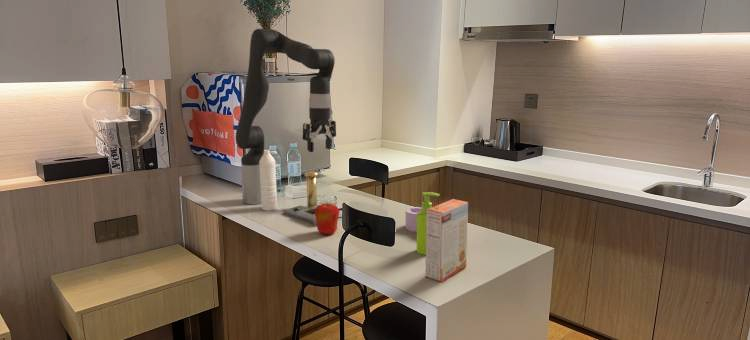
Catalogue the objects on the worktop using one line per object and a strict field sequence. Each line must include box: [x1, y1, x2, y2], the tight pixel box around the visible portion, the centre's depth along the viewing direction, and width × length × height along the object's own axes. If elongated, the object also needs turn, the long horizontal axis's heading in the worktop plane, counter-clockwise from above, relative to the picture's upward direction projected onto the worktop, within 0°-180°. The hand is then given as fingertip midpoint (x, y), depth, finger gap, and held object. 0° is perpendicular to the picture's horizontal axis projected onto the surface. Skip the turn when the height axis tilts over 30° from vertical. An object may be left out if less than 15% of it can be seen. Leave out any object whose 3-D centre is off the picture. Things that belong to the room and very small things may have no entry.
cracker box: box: [425, 198, 469, 283], centre depth 148 cm, size 14×6×21 cm, turn 139°
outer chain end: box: [297, 206, 317, 226], centre depth 197 cm, size 13×9×4 cm
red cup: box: [315, 202, 340, 236], centre depth 182 cm, size 9×8×12 cm
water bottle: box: [259, 149, 278, 211], centre depth 209 cm, size 9×6×25 cm
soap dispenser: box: [416, 191, 440, 256], centre depth 164 cm, size 6×7×20 cm
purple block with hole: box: [404, 206, 421, 232], centre depth 185 cm, size 20×12×7 cm, turn 57°
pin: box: [303, 170, 319, 208], centre depth 211 cm, size 6×6×15 cm
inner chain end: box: [282, 205, 315, 225], centre depth 202 cm, size 19×9×2 cm, turn 47°
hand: (319, 150), depth 185 cm, fingers open, 8 cm apart
